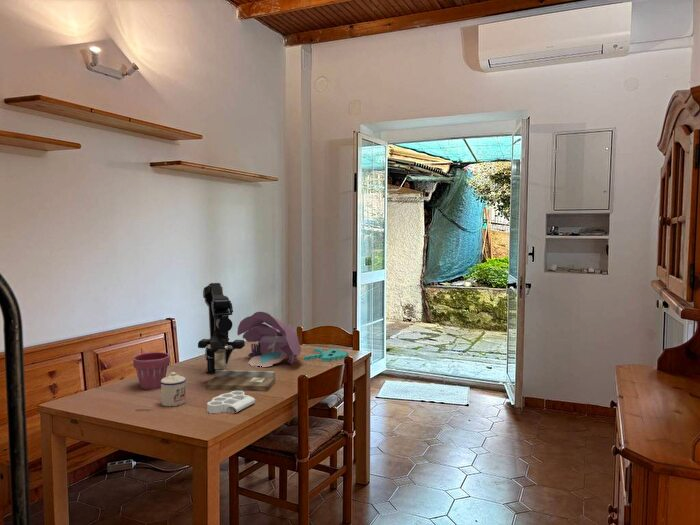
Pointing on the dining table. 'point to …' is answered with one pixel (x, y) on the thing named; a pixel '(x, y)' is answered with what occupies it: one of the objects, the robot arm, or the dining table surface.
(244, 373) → the walnut board
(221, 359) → the block
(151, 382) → the plant pot
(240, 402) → the white muffin tray
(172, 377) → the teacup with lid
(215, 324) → the robot arm
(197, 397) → the dining table surface
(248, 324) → the mauve curved piece
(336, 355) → the alien figure
